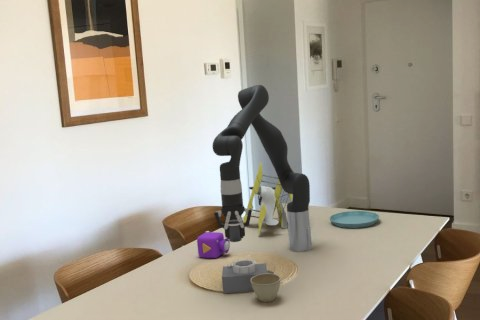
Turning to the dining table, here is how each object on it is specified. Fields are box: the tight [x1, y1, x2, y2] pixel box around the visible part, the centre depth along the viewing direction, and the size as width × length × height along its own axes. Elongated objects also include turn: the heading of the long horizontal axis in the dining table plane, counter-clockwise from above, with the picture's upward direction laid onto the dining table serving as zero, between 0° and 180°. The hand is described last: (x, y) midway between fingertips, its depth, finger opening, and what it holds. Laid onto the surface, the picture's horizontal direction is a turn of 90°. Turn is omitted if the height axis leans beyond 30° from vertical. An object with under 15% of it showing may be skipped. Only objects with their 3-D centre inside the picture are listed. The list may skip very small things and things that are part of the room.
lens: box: [228, 219, 243, 243], centre depth 184 cm, size 5×5×7 cm
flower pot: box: [251, 273, 281, 303], centre depth 171 cm, size 10×10×7 cm
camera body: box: [221, 259, 268, 294], centre depth 184 cm, size 16×11×8 cm
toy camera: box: [196, 230, 231, 259], centre depth 222 cm, size 11×14×10 cm
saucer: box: [329, 210, 380, 229], centre depth 256 cm, size 24×24×3 cm
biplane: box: [242, 161, 293, 237], centre depth 254 cm, size 39×30×20 cm
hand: (235, 237), depth 185 cm, fingers closed on lens, 4 cm apart
